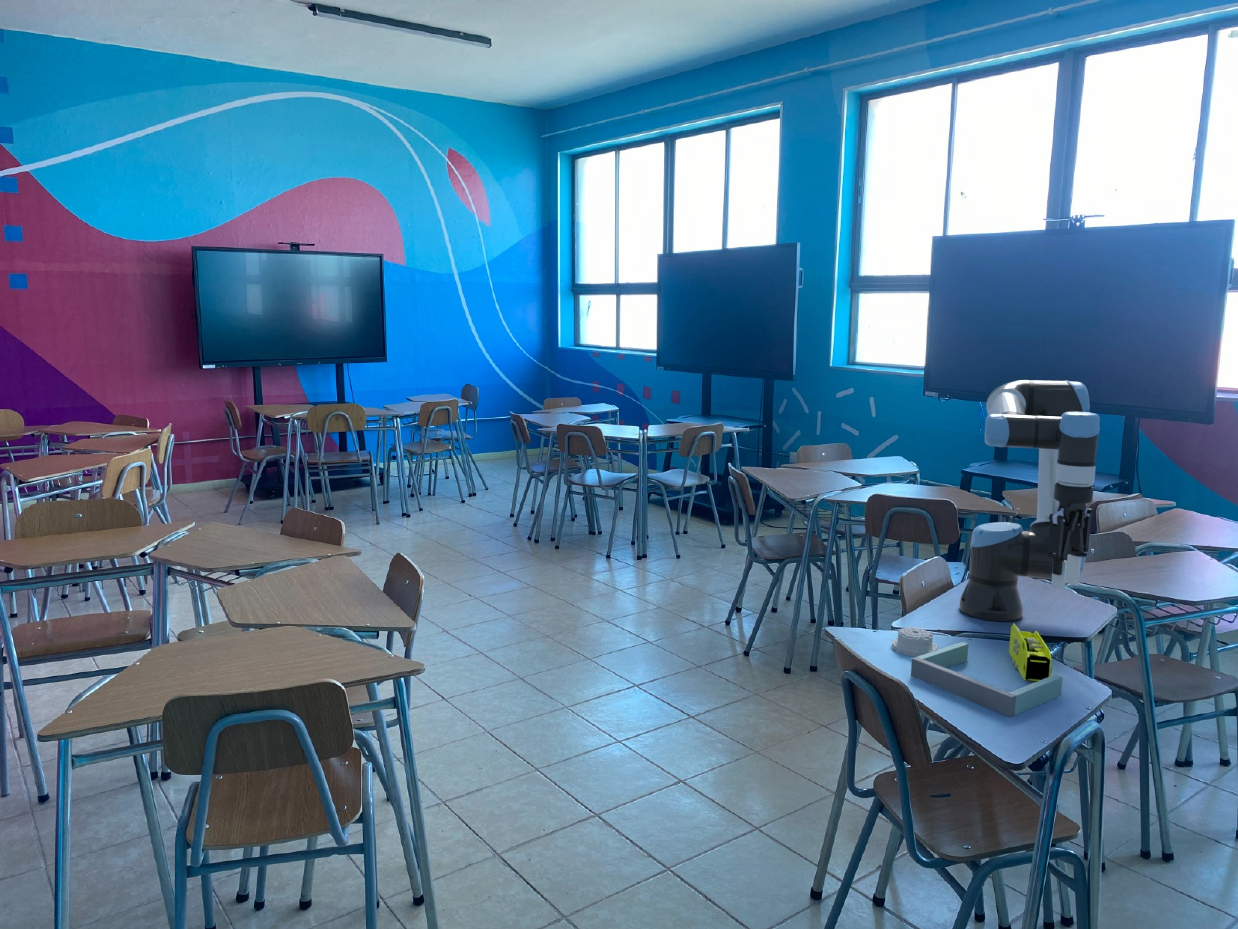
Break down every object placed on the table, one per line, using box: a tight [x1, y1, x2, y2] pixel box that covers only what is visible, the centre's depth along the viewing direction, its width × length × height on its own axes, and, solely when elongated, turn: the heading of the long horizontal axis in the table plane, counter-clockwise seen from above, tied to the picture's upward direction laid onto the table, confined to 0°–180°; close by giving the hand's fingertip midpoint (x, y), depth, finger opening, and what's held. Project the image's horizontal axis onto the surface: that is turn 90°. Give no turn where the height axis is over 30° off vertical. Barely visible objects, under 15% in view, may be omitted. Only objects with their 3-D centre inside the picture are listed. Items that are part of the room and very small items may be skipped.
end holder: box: [910, 641, 1064, 718], centre depth 180 cm, size 18×23×4 cm
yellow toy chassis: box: [1008, 623, 1053, 683], centre depth 188 cm, size 16×6×8 cm, turn 166°
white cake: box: [891, 626, 939, 658], centre depth 200 cm, size 10×4×10 cm
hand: (1064, 586), depth 193 cm, fingers open, 5 cm apart
